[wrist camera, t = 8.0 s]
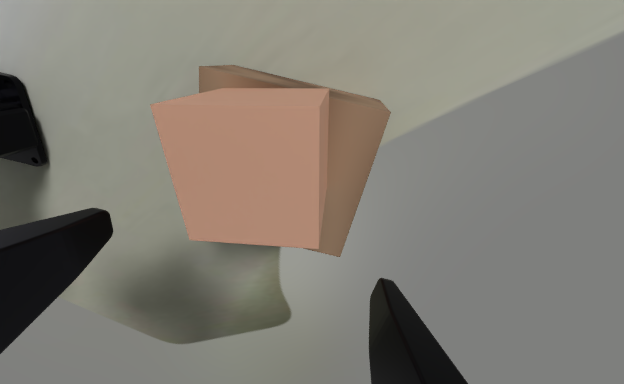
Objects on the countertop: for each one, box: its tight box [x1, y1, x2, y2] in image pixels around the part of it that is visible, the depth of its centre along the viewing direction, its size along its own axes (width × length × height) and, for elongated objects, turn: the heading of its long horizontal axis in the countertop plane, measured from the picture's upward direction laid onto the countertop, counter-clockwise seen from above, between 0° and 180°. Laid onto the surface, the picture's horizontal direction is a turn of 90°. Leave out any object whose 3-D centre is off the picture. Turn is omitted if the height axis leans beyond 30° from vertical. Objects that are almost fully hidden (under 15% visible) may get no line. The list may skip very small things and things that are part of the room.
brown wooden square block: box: [199, 65, 391, 257], centre depth 15 cm, size 9×9×4 cm
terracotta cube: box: [150, 88, 329, 249], centre depth 10 cm, size 5×5×5 cm
